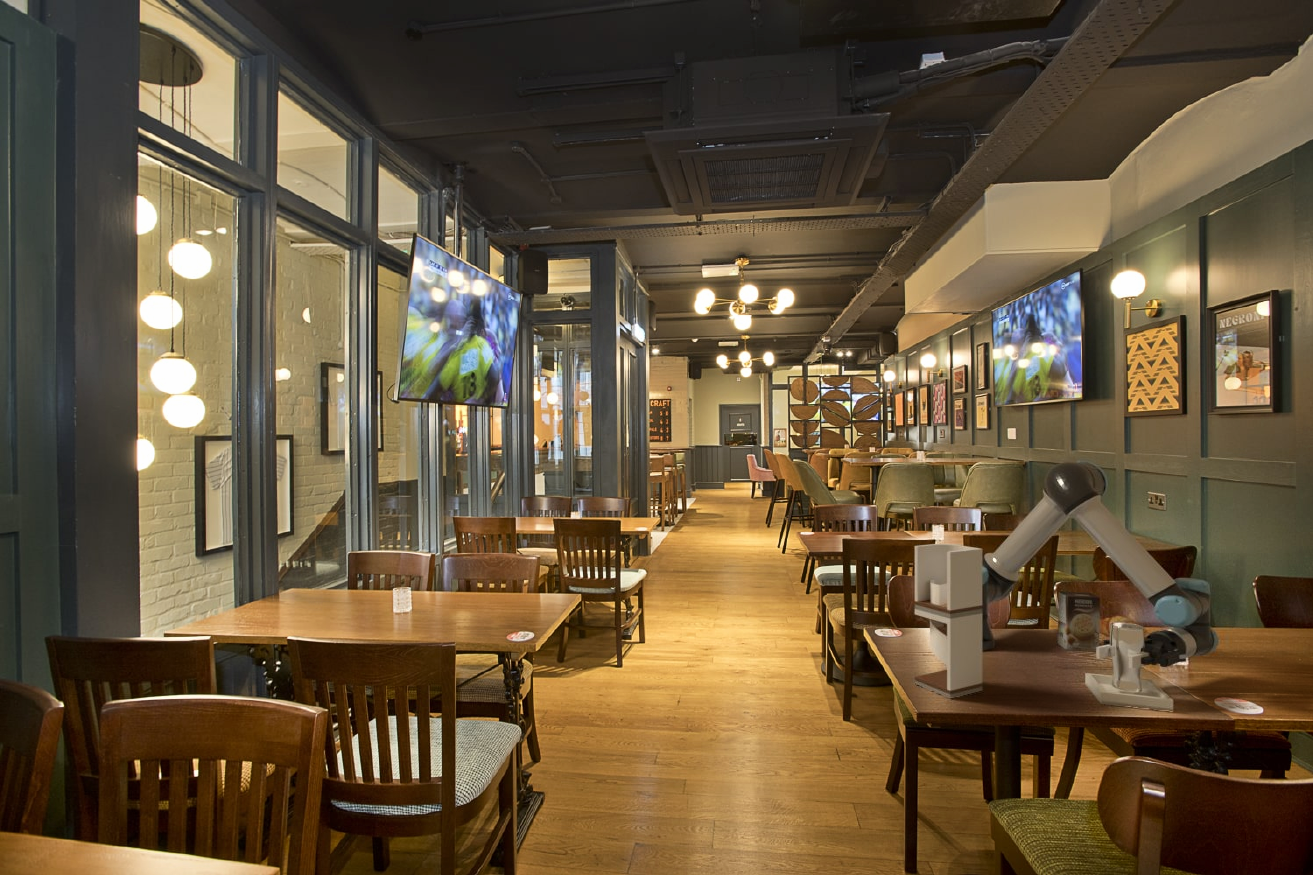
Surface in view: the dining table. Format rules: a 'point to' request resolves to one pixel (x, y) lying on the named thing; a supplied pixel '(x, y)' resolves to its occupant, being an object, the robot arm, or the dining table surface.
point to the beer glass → (1126, 655)
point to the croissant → (1107, 622)
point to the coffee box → (1078, 621)
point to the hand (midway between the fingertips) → (1113, 657)
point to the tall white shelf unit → (951, 615)
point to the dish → (1128, 693)
